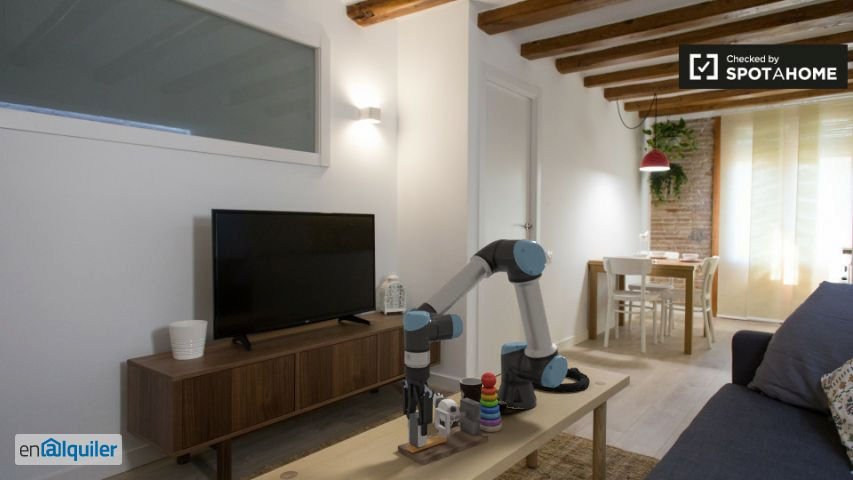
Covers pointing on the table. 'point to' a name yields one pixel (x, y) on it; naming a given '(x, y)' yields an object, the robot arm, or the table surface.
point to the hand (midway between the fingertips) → (417, 442)
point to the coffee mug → (471, 388)
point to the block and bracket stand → (431, 441)
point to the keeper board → (453, 435)
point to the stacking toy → (489, 405)
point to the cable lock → (568, 386)
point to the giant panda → (446, 407)
